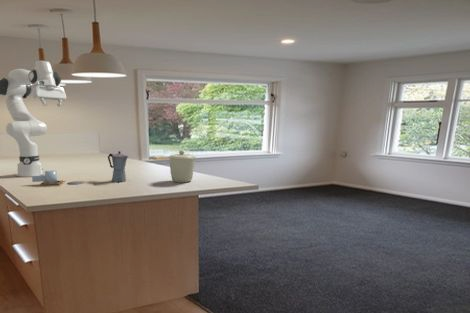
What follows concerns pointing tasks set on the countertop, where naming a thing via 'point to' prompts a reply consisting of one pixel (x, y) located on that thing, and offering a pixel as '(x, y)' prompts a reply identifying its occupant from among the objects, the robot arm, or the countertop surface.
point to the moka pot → (118, 166)
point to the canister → (181, 167)
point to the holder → (51, 184)
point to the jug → (46, 177)
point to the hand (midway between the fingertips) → (52, 105)
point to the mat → (75, 183)
